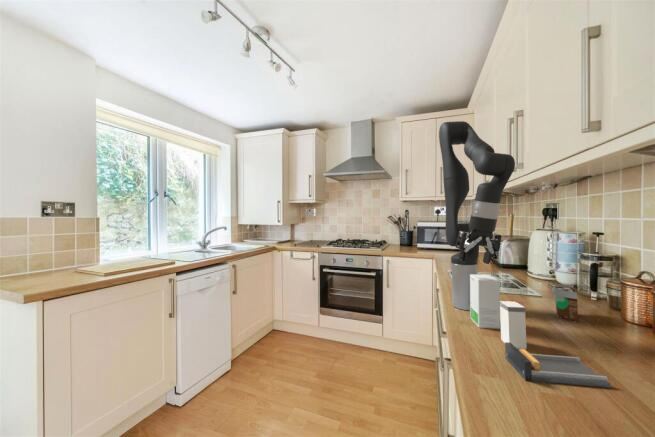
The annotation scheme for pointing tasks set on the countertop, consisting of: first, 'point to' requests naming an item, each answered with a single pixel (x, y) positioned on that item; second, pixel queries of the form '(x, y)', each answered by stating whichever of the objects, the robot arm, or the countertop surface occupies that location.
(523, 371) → the dark grey open tray
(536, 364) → the orange rectangular bar
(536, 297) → the countertop surface
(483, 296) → the skincare box
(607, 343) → the countertop surface
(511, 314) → the block
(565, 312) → the food container
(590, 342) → the countertop surface
